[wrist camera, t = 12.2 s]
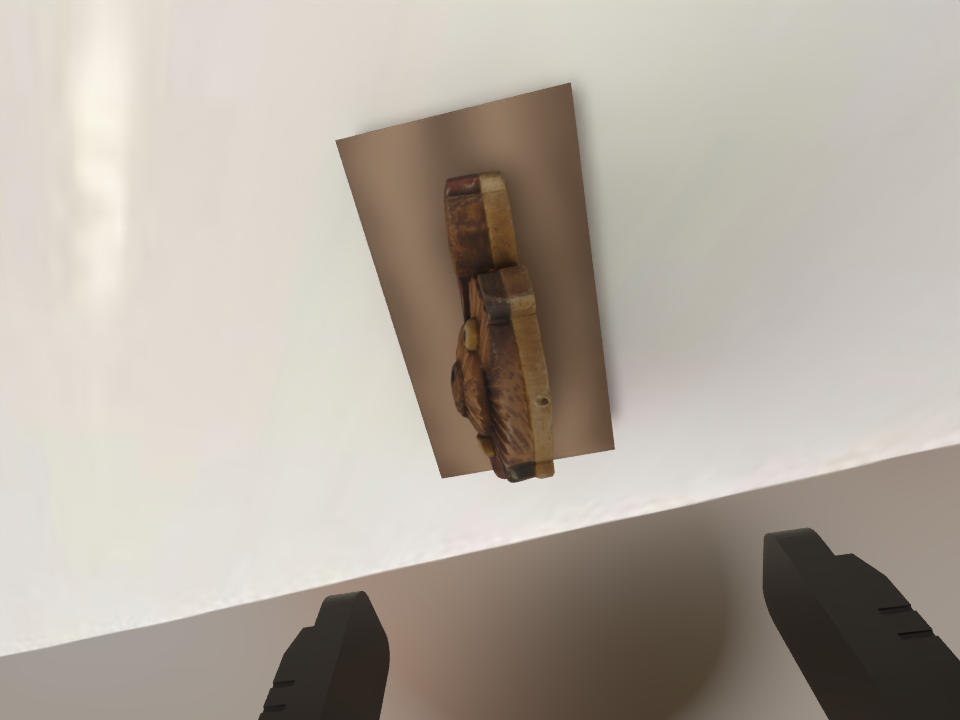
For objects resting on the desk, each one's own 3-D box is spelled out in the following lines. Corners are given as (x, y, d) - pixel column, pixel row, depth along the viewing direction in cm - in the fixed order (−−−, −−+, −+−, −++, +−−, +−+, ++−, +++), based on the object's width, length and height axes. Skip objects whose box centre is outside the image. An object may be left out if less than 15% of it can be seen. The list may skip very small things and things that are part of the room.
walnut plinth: (559, 88, 27) (570, 82, 24) (602, 417, 36) (614, 449, 33) (354, 138, 28) (335, 140, 25) (446, 444, 38) (441, 478, 34)
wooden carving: (416, 180, 26) (379, 209, 17) (502, 158, 25) (511, 176, 16) (488, 435, 32) (489, 554, 23) (556, 422, 32) (584, 539, 23)
